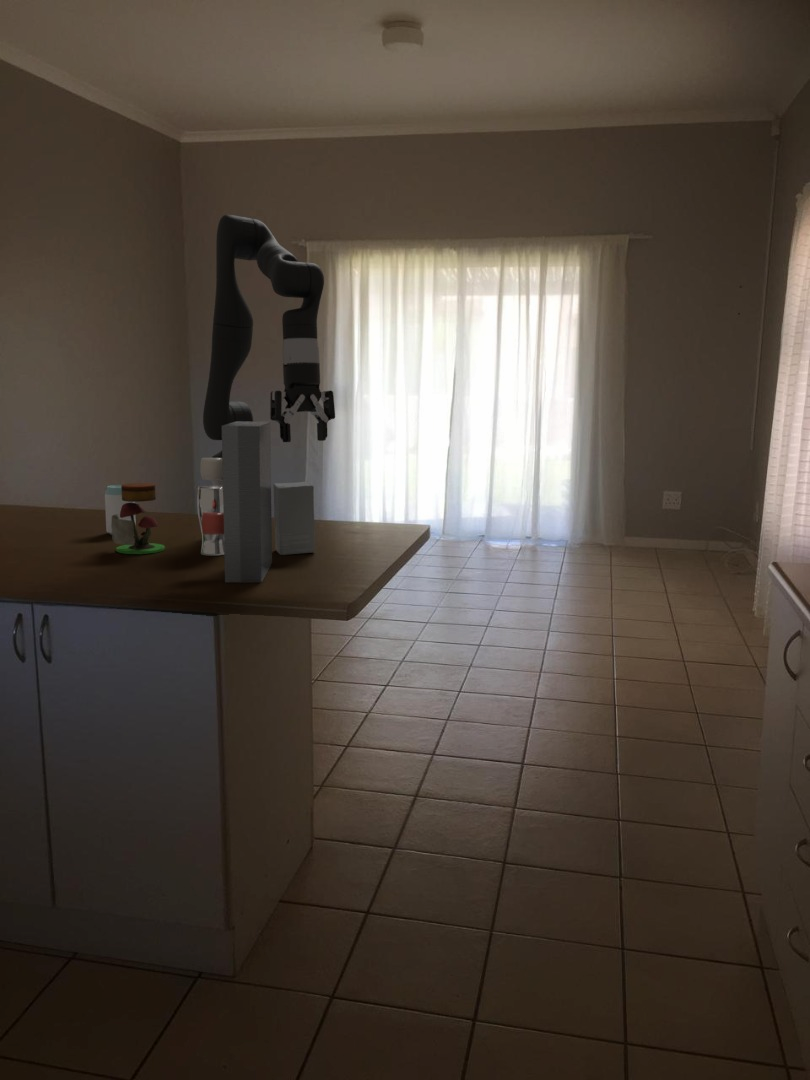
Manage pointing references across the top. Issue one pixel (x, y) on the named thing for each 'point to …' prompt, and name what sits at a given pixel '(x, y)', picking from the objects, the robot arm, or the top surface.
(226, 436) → the tall grey block
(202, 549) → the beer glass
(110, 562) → the top surface
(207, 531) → the red button
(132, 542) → the mushroom figurine
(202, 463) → the white cylinder
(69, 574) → the top surface
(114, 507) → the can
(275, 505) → the skincare box
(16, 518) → the top surface
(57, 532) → the top surface
